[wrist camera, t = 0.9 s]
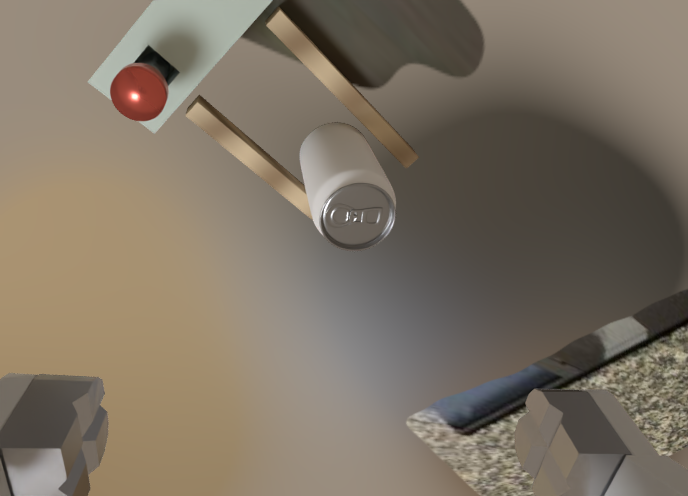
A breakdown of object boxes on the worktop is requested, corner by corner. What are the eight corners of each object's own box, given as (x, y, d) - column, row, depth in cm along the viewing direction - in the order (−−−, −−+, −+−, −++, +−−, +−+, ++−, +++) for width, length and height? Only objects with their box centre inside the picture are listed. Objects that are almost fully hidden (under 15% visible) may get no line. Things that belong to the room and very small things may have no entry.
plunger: (124, 65, 35) (99, 96, 29) (151, 32, 35) (130, 57, 28) (161, 95, 37) (144, 131, 31) (188, 64, 36) (176, 95, 30)
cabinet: (113, 54, 39) (87, 82, 33) (215, -72, 36) (209, -69, 30) (168, 99, 42) (154, 133, 35) (268, -15, 39) (273, -1, 32)
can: (300, 118, 45) (316, 176, 35) (372, 122, 46) (408, 178, 36) (296, 186, 48) (310, 256, 38) (364, 187, 49) (394, 256, 39)
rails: (187, 107, 42) (185, 115, 41) (278, 6, 39) (280, 9, 38) (328, 225, 51) (331, 236, 49) (412, 148, 48) (418, 157, 46)
